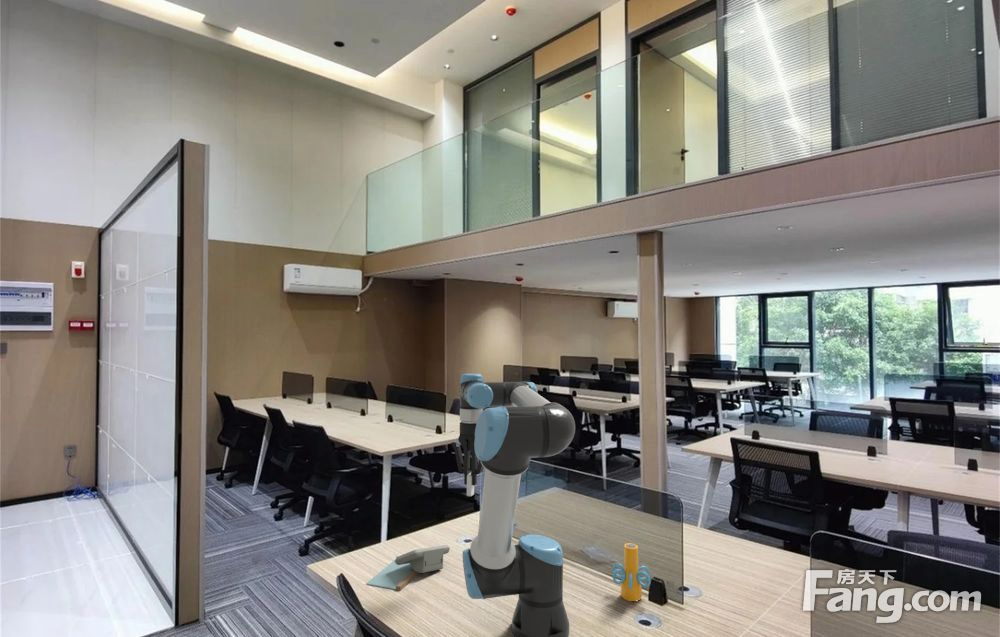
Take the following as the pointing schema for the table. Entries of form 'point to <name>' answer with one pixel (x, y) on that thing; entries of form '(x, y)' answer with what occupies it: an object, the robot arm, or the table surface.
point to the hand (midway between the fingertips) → (470, 494)
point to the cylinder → (631, 574)
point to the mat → (394, 576)
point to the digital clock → (424, 558)
